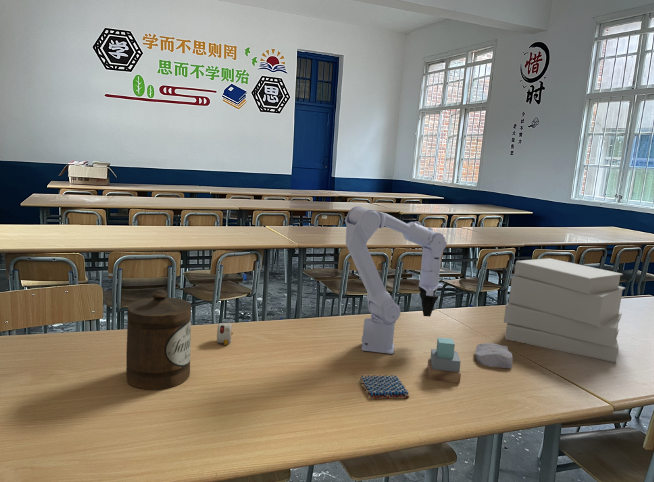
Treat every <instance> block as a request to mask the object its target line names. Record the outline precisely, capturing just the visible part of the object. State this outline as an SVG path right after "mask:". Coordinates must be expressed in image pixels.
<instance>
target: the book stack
mask: <svg viewBox="0 0 654 482" xmlns="http://www.w3.org/2000/svg"><path fill="white" fill-rule="evenodd" d="M623 275H624V273H621V272H615V271H612V270H607V269H601V268H596V267H592V266H588V265H584V264H578V263H574V262H570V261H563V260H560V259H554V258H549V257H548V258H537V259H536V258H535V259H524V260H523V259H522V260H516V261H515V267H514V275H512V276H511V281H510V289H509V297H508V303H506V304H505V309H504V316H503V317H504V318H503V323H505V324H506V327H505V328H506V329H505V335H504V336H505V337H504V339H505V340H506V341H507V340H508V341H512V342H515V341H516V342H517V343H520V342H521V344H525V343H526V344H525V345H530V346H535V347H540V348H544V349H549V350H550V349H551V350H555V351H559V352H563V353H569V354H573V355H577V356H583V357H587V358H592V359H596V360H602V361H607V362H611V363H617V361H618V355H619V354H618V353H619V344H618V340H617V338H618V335H619V332H620V330H621V329H619V323H620V320H621V318H622V315H623V313H622V312H621V311H620V307H621V302H622V296H623V291H624V290H625V289H626V287H624V286H620V280H621V276H623Z"/></svg>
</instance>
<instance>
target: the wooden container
mask: <svg viewBox="0 0 654 482" xmlns="http://www.w3.org/2000/svg"><path fill="white" fill-rule="evenodd" d="M151 294H152V297H150V298H145V299H144V298H143V299H139V300H135V301H133V302H132V303H130V304H129V305H128V306H127V311H126V312H127V314H126V315H127V316H126V317H127V318H126V319H127V322H126V324H127V327H126V329H127V331H126V353H125V354H126V358H125V359H126V361H125V362H126V365H125V366H126V376H125V377H126V382H127V383H128V384H129V385H130V386H132V387H134V388H138V389H142V390H149V391H151V390H152V391H153V390H163V389H164V390H165V389H169V388H173V387H175V386H179V385H181V384H183V383H184V382H186V381H188V378H190V375H191V374H190V373H191V350H192V349H191V346H192V343H191V340H192V338H191V336H192V335H191V334H192V333H191V332H192V330H191V329H192V328H191V327H192V324H191V323H192V322H191V319H192V304H191V302H189V301H187V300H185V299H181V298H176V297H167V296H168V293H167V291H166V290H165V289H156V290H155V291H153V293H151Z"/></svg>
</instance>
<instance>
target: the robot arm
mask: <svg viewBox="0 0 654 482" xmlns="http://www.w3.org/2000/svg"><path fill="white" fill-rule="evenodd" d="M344 222H345V225H346V226H345V227H346V228H345V229H346V230H345V246H346V248H347V249H348V252H349V255H350V256H351V259H352V261H353V263H354V265H355V268H356V270H357V272H358V275H359V277H360V279H361V282H362V283H363V285H364V287H365V290H366V292H367V295H366V299H367V309H368V311H369V313H370V317H369V318H367V317H366V318H364V321H363V327H362V328H363V329H362V336H361V351H364V352H373V353H380V354H381V353H382V354H388V355H389V354H390V355H393V354H394V353H395V344H394V337H395V324H396V322H397V321H398V320H399V318H400V316H401V307H400V306H399V304H398V303H396V302H395V300H394V299H393V296H392V295H390V294H389V292H388V290H387V289H386V288H385V285H384V283H383V280H382V278H381V275H380V273H379V272H378V269H377V267H376V264H375V262H374V259H373V257H372V255H371V253H370V250H369V248H368V247H367V243H368V241H370V240H369V239H370V238H371V237H372V236H373V235H374V234H375V233H376V232H377V230H378V229H383V228H384V227H386V228H388V229H390V230H393V231H395V232H399V233H401V234H402V237H403V238H404V240H406V241H408V242H411V243H412V244H415V245H417V246H420V247H421V248H422V253H421V264H420V265H421V266H420V276H419V282H418V289H419V297H420V300H421V307H422V315H423V317H429V318H430V317H431V316H432V313H433V309H434V306H435V304H436V302H437V300H438V299H439V295H437V294H435V292H436V291H437V289H442V288H443V284H441V283H439V280H440V273H441V260H442V256H443V252H444V250H445V249H446V247H447V244H448V241H446V238H445V236H444V234H443V233H440V232H437V231H434V230H433V228H432V227H426V226H423V225H422V223H421V222H420V221H417V220H416V221H409V222H404V221H403V220H400V219H398V218H396V217H394V216H393V215H390V214H388V213H386V212H383V211H378V210H375V209H370V208H365V207H362V206H358V205H357V206H353V207H352V208H350V210H349V211H348V212H347V215H346V217H345V219H344Z"/></svg>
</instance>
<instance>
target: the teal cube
mask: <svg viewBox="0 0 654 482" xmlns="http://www.w3.org/2000/svg"><path fill="white" fill-rule="evenodd" d="M455 346H456V343H455V342H454V339H453V338H449V337H446V338H445V337H437V340H436V348H435V349H436V352H437V355H438V357H443V358H453V357H454V351H455Z"/></svg>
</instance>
